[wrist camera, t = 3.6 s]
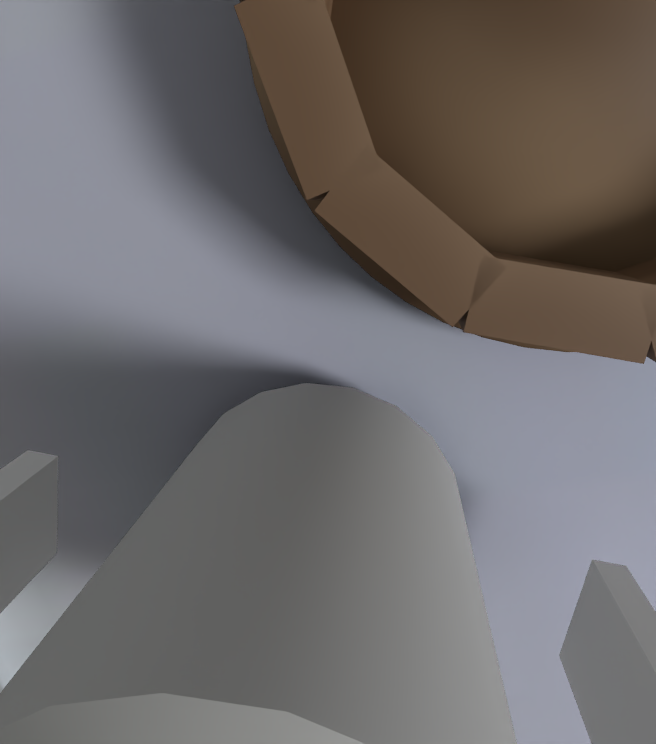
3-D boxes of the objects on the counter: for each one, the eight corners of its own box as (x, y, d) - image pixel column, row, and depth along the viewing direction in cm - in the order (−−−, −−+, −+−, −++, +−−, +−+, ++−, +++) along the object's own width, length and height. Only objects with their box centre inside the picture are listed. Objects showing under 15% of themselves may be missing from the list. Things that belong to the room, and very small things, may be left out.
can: (401, 330, 15) (438, 815, 3) (495, 573, 16) (744, 1462, 5) (147, 426, 16) (-452, 988, 5) (258, 639, 18) (18, 1435, 6)
